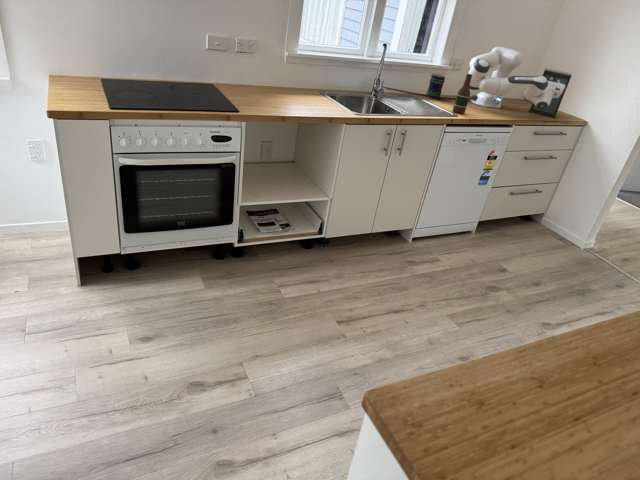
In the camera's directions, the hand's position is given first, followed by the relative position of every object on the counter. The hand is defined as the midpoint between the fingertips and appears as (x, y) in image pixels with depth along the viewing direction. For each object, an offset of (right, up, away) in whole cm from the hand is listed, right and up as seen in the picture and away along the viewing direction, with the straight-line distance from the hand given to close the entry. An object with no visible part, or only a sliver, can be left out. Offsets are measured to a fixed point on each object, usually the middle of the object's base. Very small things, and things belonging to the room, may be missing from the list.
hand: (551, 79), depth 335 cm
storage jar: (-80, -10, +8) cm, 81 cm away
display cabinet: (+4, -18, +22) cm, 29 cm away
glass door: (0, -21, +12) cm, 24 cm away
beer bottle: (-71, -30, -24) cm, 81 cm away
